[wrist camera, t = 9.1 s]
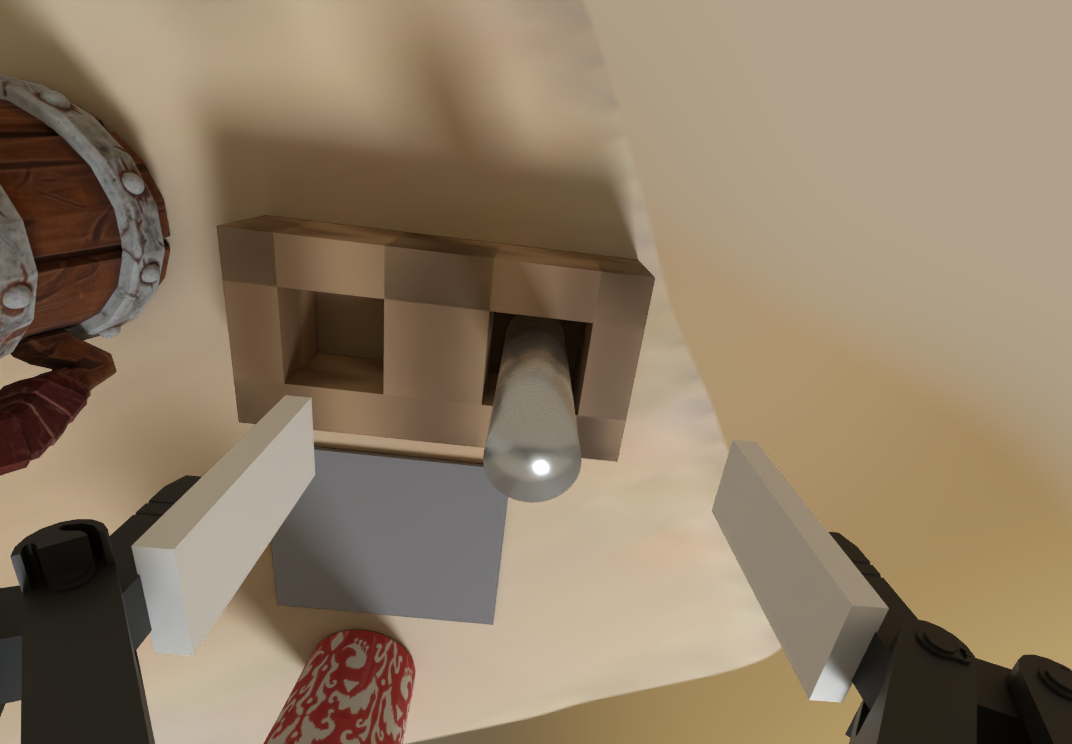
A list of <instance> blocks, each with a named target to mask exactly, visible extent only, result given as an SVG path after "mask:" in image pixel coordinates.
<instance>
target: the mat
mask: <svg viewBox="0 0 1072 744" xmlns="http://www.w3.org/2000/svg"><path fill="white" fill-rule="evenodd" d="M314 459H315V476H314V477H313V479H312V480H311V482H310V483H309V485H308V486H307V488H306V489H305V491H304V492H303V494H302V495H301V497H300V498H299V500H298V501H297V503H296V504H295V506H294V507H293V508H292V510H291V511H290V513H289V514H288V516H287V517H286V519H285V520H284V522H283V523H282V525H281V526H280V528H279V529H278V531H277V532H276V534H275V535H274V537H273V538H272V540H271V546H272V556H273V567H274V577H275V588H276V598H277V605H283V606H293V607H304V608H315V609H326V610H337V611H348V612H359V613H370V614H381V615H392V616H403V617H414V618H425V619H436V620H447V621H458V622H469V623H480V624H491V625H493V621H494V612H495V603H496V595H497V586H498V578H499V569H500V560H501V552H502V543H503V534H504V526H505V517H506V509H507V500H508V496H506V495H504V494H503V493H501V492H500V491H498V490H497V489H496V488H495V487H494V486H493V484H492V483H491V482H490V480H489V479H488V477H487V475H486V473H485V469H484V464H477V463H467V462H458V461H448V460H438V459H429V458H419V457H409V456H399V455H390V454H380V453H370V452H361V451H351V450H341V449H332V448H322V447H314Z"/></svg>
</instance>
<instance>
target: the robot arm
mask: <svg viewBox="0 0 1072 744" xmlns="http://www.w3.org/2000/svg"><path fill="white" fill-rule="evenodd" d="M314 476H315V459H314V439H313V419H312V398H309V397H299V396H289V395H285V396H284V397H283V398H282V399H281V400H280V401H279V402H278V403H277V404H276V405H275V406H274V407H273V408H272V409H271V410H270V411H269V412H268V413H267V414H266V415H265V416H264V417H263V418H262V419H261V420H260V421H259V422H258V423H257V424H256V425H255V426H254V427H253V428H252V429H251V430H250V431H249V432H247V433H246V434H245V435H244V436H243V437H242V438H241V439H240V440H239V441H238V442H237V443H236V444H235V445H234V446H233V447H232V448H231V449H230V450H229V451H228V452H227V453H226V454H225V455H224V456H223V457H222V458H221V459H220V460H219V461H218V462H217V463H216V464H215V465H214V466H213V467H212V468H211V469H210V470H209V471H208V472H207V473H206V474H205V475H203V476H202V477H199V476H187V475H186V476H184V477H182V478H180V479H178V480H177V481H175V482H173V483H171V484H169V485H167V486H165V487H164V488H162V489H161V490H160V491H159V492H158V493H157V494H156V495H155V496H154V497H152V498H151V499H150V500H149V503H148V504H145V505H144V506H143V507H141V508H140V509H139V510H138V511H137V512H136V515H133V516H131V517H130V518H129V519H128V520H127V521H126V522H125V523H124V524H123V525H121V526H120V527H119V528H118V529H117V530H116V531H115V532H114V533H113V534H112V535H110V536H109V533H108V529H107V528H106V526H105V525H104V524H103V523H101V522H98V521H95V520H92V519H76V520H71V521H65V522H60V523H57V524H54V525H51V526H48V527H45V528H42V529H40V530H38V531H37V532H35V533H33V534H31V535H29V536H27V537H26V538H25V539H23V540H22V541H21V542H20V543H19V544H18V545H17V546H15V548H14V550H13V552H12V554H11V560H12V563H13V566H14V569H15V572H16V575H17V578H18V581H19V584H20V586H14V587H6V588H0V716H1V713H2V711H3V708H4V706H5V703H9V702H14V701H19V700H21V744H155V741H154V736H153V731H152V726H151V721H150V716H149V711H148V706H147V701H146V696H145V691H144V685H143V680H142V675H141V670H140V665H139V660H138V656H137V652H136V649H137V648H138V647H139V646H140V644H141V643H142V642H143V641H144V639H145V638H146V637H147V636H148V634H149V633H150V634H151V638H152V643H153V647H154V652H155V653H162V654H175V655H189V656H193V655H194V654H195V652H196V651H197V649H198V648H199V646H200V645H201V643H202V642H203V641H204V639H205V638H206V636H207V635H208V633H209V632H210V630H211V629H212V627H213V626H214V624H215V623H216V621H217V620H218V618H219V617H220V615H221V614H222V612H223V611H224V609H225V608H226V606H227V605H228V603H229V602H230V600H231V599H232V597H233V596H234V595H235V593H236V592H237V590H238V589H239V587H240V586H241V584H242V583H243V581H244V580H245V578H246V577H247V575H248V574H249V572H250V571H251V569H252V568H253V566H254V565H255V563H256V562H257V560H258V559H259V557H260V556H261V554H262V553H263V552H264V550H265V549H266V547H267V546H268V544H269V543H270V541H271V540H272V538H273V537H274V535H275V534H276V532H277V531H278V529H279V528H280V526H281V525H282V523H283V522H284V520H285V519H286V517H287V516H288V514H289V513H290V511H291V510H292V508H293V507H294V506H295V504H296V503H297V501H298V500H299V498H300V497H301V495H302V494H303V492H304V491H305V489H306V488H307V486H308V485H309V483H310V482H311V480H312V479H313V477H314ZM712 512H713V514H714V516H715V518H716V520H717V522H718V524H719V526H720V528H721V530H722V532H723V534H724V536H725V537H726V539H727V541H728V543H729V545H730V547H731V549H732V551H733V553H734V555H735V557H736V559H737V561H738V563H739V565H740V567H741V569H742V570H743V572H744V574H745V576H746V578H747V580H748V582H749V584H750V586H751V588H752V590H753V592H754V594H755V596H756V598H757V600H758V602H759V603H760V605H761V607H762V609H763V611H764V613H765V615H766V617H767V619H768V621H769V623H770V625H771V627H772V629H773V631H774V633H775V635H776V636H777V638H778V640H779V642H780V644H781V646H782V648H783V650H784V652H785V654H786V656H787V658H788V660H789V662H790V664H791V666H792V668H793V670H794V671H795V673H796V675H797V677H798V679H799V681H800V683H801V685H802V687H803V689H804V691H805V693H806V695H807V697H808V698H809V700H817V701H831V702H843V701H844V699H845V696H846V695H847V692H848V691H849V689H850V686H851V685H852V683H853V684H854V685H855V687H856V689H857V690H858V692H859V693H860V695H861V697H862V698H863V701H862V703H861V705H860V707H859V709H858V710H857V712H856V714H855V716H854V718H853V720H852V723H851V724H850V726H849V728H848V730H847V732H846V735H847V736H849V737H850V742H849V744H1072V671H1071V670H1070V669H1069V668H1067V667H1066V666H1064V665H1062V664H1059V663H1057V662H1054V661H1052V660H1050V659H1048V658H1044V657H1040V656H1037V655H1023V656H1022V657H1021V658H1020V659H1019V660H1018V661H1017V663H1016V664H1015V666H1014V667H1013V669H1012V670H1011V669H1008V668H1005V667H1002V666H999V665H996V664H992V663H989V662H986V661H983V660H980V659H977V658H975V656H974V655H973V654H972V652H971V651H970V650H969V648H968V647H967V646H966V645H965V644H964V643H962V642H961V641H960V640H959V639H958V638H957V637H956V636H954V635H953V634H951V633H950V632H948V631H946V630H945V629H943V628H941V627H939V626H937V625H934V624H932V623H929V622H927V621H922V620H918V619H917V617H916V616H915V615H914V614H913V613H912V612H911V610H910V609H909V608H908V607H907V606H906V604H905V603H904V602H903V601H902V600H901V598H900V597H899V596H898V595H897V594H896V592H895V591H894V590H893V589H892V588H891V587H890V585H889V584H888V583H887V582H886V581H885V579H884V578H881V577H880V573H879V572H878V571H877V570H876V569H875V567H873V565H870V562H869V560H868V559H867V558H866V557H865V556H864V554H863V553H862V552H861V551H860V550H859V548H858V547H857V546H855V545H854V544H853V543H851V542H850V541H849V540H847V539H846V538H845V537H843V536H842V535H841V534H839V533H836V532H828V531H827V530H826V529H825V527H824V526H823V525H822V524H821V522H820V521H819V520H818V519H817V517H816V516H815V515H814V514H813V512H812V511H811V510H810V509H809V507H808V506H807V505H806V503H805V502H804V501H803V500H802V498H801V497H800V496H799V495H798V493H797V492H796V491H795V490H794V488H793V487H792V486H791V485H790V483H789V482H788V481H787V480H786V478H785V477H784V476H783V475H782V473H781V472H780V471H779V470H778V468H777V467H776V466H775V465H774V463H773V462H772V461H771V460H770V458H769V457H768V456H767V455H766V453H765V452H764V451H763V449H762V448H761V447H760V446H759V444H758V443H757V442H753V441H743V440H733V441H732V445H731V448H730V451H729V454H728V458H727V461H726V465H725V468H724V471H723V475H722V478H721V481H720V485H719V488H718V492H717V495H716V498H715V502H714V505H713V509H712Z"/></svg>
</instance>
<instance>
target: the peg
mask: <svg viewBox="0 0 1072 744" xmlns="http://www.w3.org/2000/svg"><path fill="white" fill-rule="evenodd" d="M483 463H484V469H485V473H486V475H487V477H488V479H489V480H490V482H491V483H492V484H493V486H494V487H495V488H496V489H497V490H498V491H500V492H501V493H503V494H504V495H506V496H508V497H510V498H512V499H515V500H518V501H523V502H542V501H547V500H550V499H553V498H555V497H557V496H559V495H561V494H562V493H564V492H565V491H567V490H568V489H569V488H570V487H571V486H572V484H573V483H574V482H575V480H576V479H577V477H578V474H579V472H580V468H581V452H580V445H579V438H578V430H577V423H576V416H575V409H574V402H573V395H572V388H571V381H570V373H569V366H568V359H567V352H566V345H565V338H564V331H563V328H562V325H561V323H560V322H559V320H558V319H553V318H545V317H536V316H527V315H516V316H515V317H514V318H513V319H512V321H511V322H510V324H509V326H508V328H507V332H506V338H505V343H504V349H503V354H502V359H501V365H500V370H499V375H498V381H497V386H496V391H495V397H494V402H493V407H492V413H491V418H490V423H489V429H488V434H487V440H486V445H485V450H484V456H483Z"/></svg>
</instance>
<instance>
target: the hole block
mask: <svg viewBox="0 0 1072 744" xmlns="http://www.w3.org/2000/svg"><path fill="white" fill-rule="evenodd" d="M217 233H218V242H219V251H220V259H221V268H222V277H223V286H224V295H225V304H226V313H227V322H228V331H229V340H230V348H231V357H232V366H233V375H234V384H235V393H236V402H237V411H238V420H239V422H242V423H252V424H257V423H258V422H259V421H260V420H261V419H262V418H263V417H264V416H265V415H266V414H267V413H268V412H269V411H270V410H271V409H272V408H273V407H274V406H275V405H276V404H277V403H278V402H279V401H280V400H281V399H282V398H283V397H284V396H285V395H289V396H299V397H309V398H312V419H313V430H319V431H329V432H338V433H348V434H357V435H367V436H376V437H386V438H396V439H405V440H415V441H424V442H434V443H444V444H453V445H463V446H472V447H482V448H485V445H486V440H487V434H488V429H489V423H490V418H491V413H492V407H493V402H494V397H495V391H496V386H497V381H498V375H499V373H495V372H489V368H490V357H491V346H492V334H493V323H494V312H501V313H510V314H518V315H527V316H536V317H545V318H553V319H562V320H571V321H579V322H582V327H581V333H580V339H579V346H578V352H577V358H576V365H575V371H574V377H573V381H571V388H572V395H573V402H574V409H575V416H576V423H577V430H578V438H579V445H580V452H581V458H587V459H597V460H607V461H616V462H617V461H618V456H619V451H620V446H621V441H622V437H623V432H624V427H625V422H626V417H627V412H628V407H629V402H630V398H631V393H632V388H633V383H634V378H635V373H636V368H637V363H638V359H639V354H640V349H641V344H642V339H643V334H644V329H645V325H646V320H647V315H648V310H649V305H650V300H651V295H652V290H653V286H654V281H655V277H654V276H653V275H652V274H651V273H650V272H649V271H648V270H647V269H646V268H645V267H644V266H643V265H642V263H641V262H640V261H639V260H633V259H625V258H616V257H608V256H600V255H591V254H583V253H575V252H566V251H558V250H549V249H541V248H533V247H524V246H516V245H508V244H499V243H491V242H483V241H474V240H466V239H458V238H449V237H441V236H433V235H424V234H416V233H408V232H399V231H391V230H382V229H374V228H366V227H357V226H349V225H341V224H332V223H324V222H316V221H307V220H299V219H291V218H282V217H274V216H266V215H264V216H260V217H255V218H250V219H246V220H241V221H237V222H232V223H228V224H223V225H218V226H217ZM316 291H318V292H326V293H335V294H344V295H353V296H361V297H370V298H379V299H384V360H376V359H367V358H358V357H349V356H340V355H331V354H322V353H318V334H317V311H316Z"/></svg>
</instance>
